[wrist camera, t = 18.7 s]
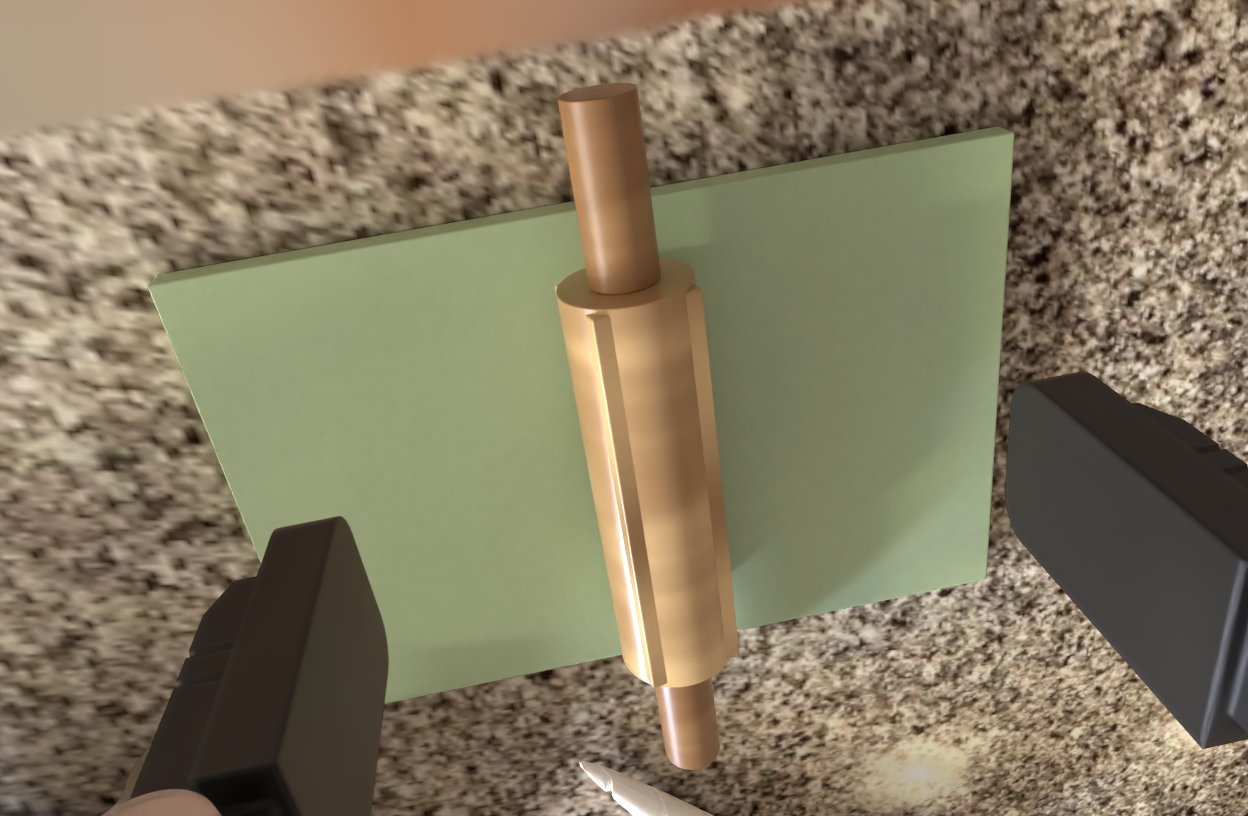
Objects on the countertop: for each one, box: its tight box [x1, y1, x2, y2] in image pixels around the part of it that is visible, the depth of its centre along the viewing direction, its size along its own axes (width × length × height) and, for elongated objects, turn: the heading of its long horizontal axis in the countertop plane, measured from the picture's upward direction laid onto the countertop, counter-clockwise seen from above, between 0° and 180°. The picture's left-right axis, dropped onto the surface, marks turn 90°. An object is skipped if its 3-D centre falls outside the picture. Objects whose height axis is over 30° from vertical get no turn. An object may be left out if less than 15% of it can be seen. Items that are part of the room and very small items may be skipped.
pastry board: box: [148, 126, 1015, 704], centre depth 36 cm, size 30×20×1 cm, turn 98°
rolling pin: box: [555, 83, 739, 770], centre depth 34 cm, size 28×5×5 cm, turn 8°
